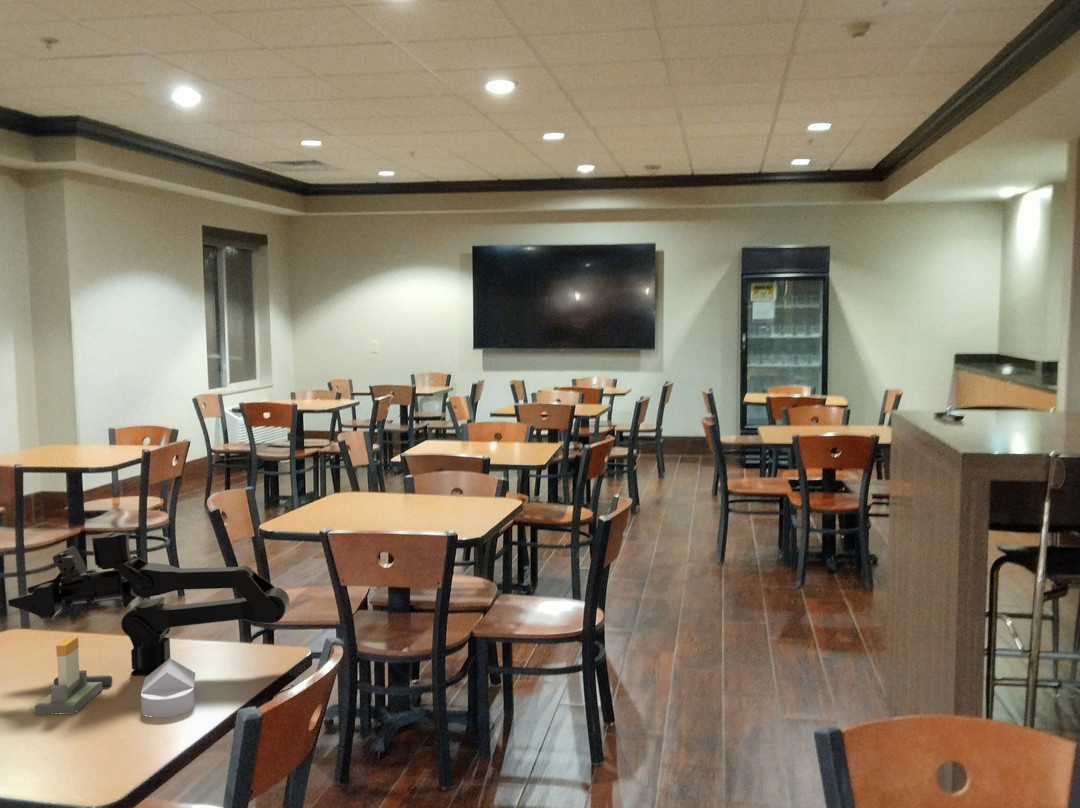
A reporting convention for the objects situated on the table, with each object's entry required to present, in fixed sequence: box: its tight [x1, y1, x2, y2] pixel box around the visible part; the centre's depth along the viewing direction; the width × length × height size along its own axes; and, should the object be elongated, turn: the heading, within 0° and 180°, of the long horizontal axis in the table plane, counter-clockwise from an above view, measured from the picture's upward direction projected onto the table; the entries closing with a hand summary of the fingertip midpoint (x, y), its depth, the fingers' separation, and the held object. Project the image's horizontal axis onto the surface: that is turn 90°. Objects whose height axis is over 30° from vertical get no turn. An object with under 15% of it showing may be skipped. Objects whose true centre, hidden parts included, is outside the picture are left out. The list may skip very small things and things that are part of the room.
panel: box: [34, 669, 104, 715], centre depth 185 cm, size 7×12×4 cm, turn 1°
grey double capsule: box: [53, 674, 113, 687], centre depth 195 cm, size 11×3×2 cm, turn 91°
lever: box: [55, 636, 81, 694], centre depth 185 cm, size 2×6×10 cm, turn 1°
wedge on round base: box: [140, 657, 196, 718], centre depth 184 cm, size 9×7×13 cm
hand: (18, 596), depth 199 cm, fingers open, 9 cm apart
